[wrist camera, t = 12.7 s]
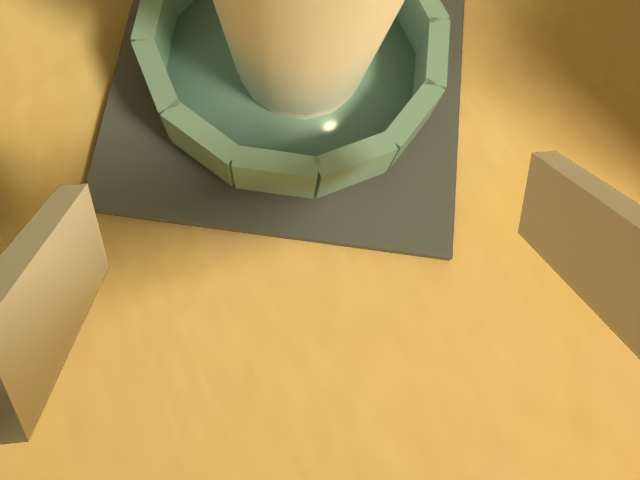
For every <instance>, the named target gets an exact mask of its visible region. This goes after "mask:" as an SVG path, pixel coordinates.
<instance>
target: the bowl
mask: <svg viewBox="0 0 640 480" xmlns="http://www.w3.org/2000/svg"><path fill="white" fill-rule="evenodd" d="M448 19H449V15H448V13H447V11H446V10H445V8H444V6H443V4H442V2H441V1H440V0H405V1H404V3H403V5H402V6H401V8H400V10H399V12H398V14H397V16H396V17H395V19H394V21H393V23H392V25H391V27H390V29H389V30H388V32H387V34H386V36H385V38H384V40H383V41H382V43H381V45H380V47H379V49H378V51H377V52H376V54H375V56H374V58H373V60H372V62H371V63H370V65H369V67H368V69H367V71H366V73H365V74H364V76H363V78H362V80H361V82H360V84H359V85H358V87H357V89H356V91H354V93H353V96H352V97H351V98H350V99H348V100H347V101H346V102H345V103H344V104H343V105H341V106H340V107H339V108H338V109H337V110H336V111H334V112H333V113H330V114H326V115H323V116H319V117H315V118H312V119H308V120H303V119H297V118H290V117H283V116H278V115H276V114H274V113H273V112H271V111H270V110H268V109H266V108H265V107H263V106H262V105H260V104H258V103H257V102H255V101H254V100H253V98H252V97H251V95H250V94H249V92H248V90H247V89H246V87H245V86H244V84H243V83H242V81H241V80H240V75H239V74H238V72H237V69H236V66H235V64H234V61H233V58H232V55H231V52H230V49H229V46H228V43H227V40H226V38H225V35H224V32H223V29H222V26H221V23H220V20H219V17H218V14H217V12H216V9H215V6H214V3H213V0H140V4H139V7H138V11H137V15H136V19H135V23H134V27H133V31H132V35H131V41H132V42H131V44H132V47H133V49H134V52H135V54H136V57H137V60H138V62H139V65H140V67H141V70H142V72H143V75H144V77H145V80H146V83H147V85H148V88H149V90H150V93H151V95H152V98H153V100H154V103H155V106H156V108H157V111H158V113H159V115H160V118H161V120H162V123H163V125H164V127H165V130H166V132H167V134H168V137H169V139H171V141H172V142H173V143H174V144H175V145H177V146H178V147H179V148H181V149H182V150H183V151H185V152H186V153H187V154H189V155H190V156H191V157H193V158H194V159H195V160H197V161H198V162H199V163H201V164H202V165H204V166H205V167H206V168H208V169H209V170H210V171H212V172H213V173H214V174H216V175H217V176H218V177H220V178H221V179H222V180H224V181H225V182H226V183H228V184H229V185H230V186H233V185H234V184H235V188H238V189H245V190H252V191H259V192H265V193H270V194H275V195H287V196H295V197H302V198H310V199H313V197H314V195H315V196H316V198H320V197H322V196H325V195H328V194H330V193H333V192H335V191H338V190H341V189H343V188H346V187H349V186H351V185H354V184H357V183H359V182H362V181H364V180H367V179H370V178H372V177H375V176H378V175H380V174H383V173H386V171H387V170H389V169H390V168H391V167H392V165H393V164H394V163H395V162H396V160H397V159H398V158H399V156H400V155H401V154H402V152H403V151H404V150H405V149H406V147H407V146H408V145H409V143H410V142H411V141H412V140H413V138H414V137H415V136H416V134H417V133H418V132H419V130H420V129H421V128H422V127H423V125H424V124H425V123H426V121H427V120H428V119H429V117H430V116H431V114H432V112H433V111H434V109H435V107H436V105H437V104H438V102H439V100H440V99H441V97H442V95H443V93H444V92H445V89H446V87H447V71H448V53H449V34H450V20H448Z"/></svg>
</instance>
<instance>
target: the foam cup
mask: <svg viewBox="0 0 640 480" xmlns="http://www.w3.org/2000/svg"><path fill="white" fill-rule="evenodd" d="M404 1H405V0H213V3H214V6H215V9H216V12H217V14H218V17H219V20H220V23H221V26H222V29H223V32H224V35H225V38H226V40H227V43H228V46H229V49H230V52H231V55H232V58H233V61H234V64H235V66H236V69H237V72H238V74H239V75H240V80H241V81H242V83H243V84H244V86H245V87H246V89H247V90H248V92H249V94H250V95H251V97H252V98H253V100H254V101H255V102H257V103H258V104H260V105H262V106H263V107H265V108H266V109H268V110H270V111H271V112H273V113H274V114H276V115H278V116H283V117H290V118H297V119H303V120H308V119H312V118H315V117H319V116H323V115H326V114H330V113H333V112H334V111H336V110H337V109H338V108H339V107H340V106H341V105H343V104H344V103H345V102H346V101H347V100H348V99H350V98H351V97H352V96H353V93H354V91H356V89H357V87H358V85H359V84H360V82H361V80H362V78H363V76H364V74H365V73H366V71H367V69H368V67H369V65H370V63H371V62H372V60H373V58H374V56H375V54H376V52H377V51H378V49H379V47H380V45H381V43H382V41H383V40H384V38H385V36H386V34H387V32H388V30H389V29H390V27H391V25H392V23H393V21H394V19H395V17H396V16H397V14H398V12H399V10H400V8H401V6H402V5H403V3H404Z"/></svg>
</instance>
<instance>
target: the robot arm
mask: <svg viewBox="0 0 640 480" xmlns="http://www.w3.org/2000/svg"><path fill="white" fill-rule="evenodd" d="M518 233H519V234H520V235H521V236H522V237H523V238H524V239H525V240H526V242H527V243H528V244H529V245H530V246H531V247H532V248H533V249H534V250H535V251H536V252H537V253H538V254H539V255H540V256H541V257H542V258H543V259H544V260H545V261H546V262H547V263H548V264H549V265H550V266H551V268H552V269H553V270H554V271H555V272H556V273H557V274H558V275H559V276H560V277H561V278H562V279H563V280H564V281H565V282H566V283H567V284H568V285H569V286H570V287H571V288H572V289H573V290H574V291H575V292H576V293H577V295H578V296H579V297H580V298H581V299H582V300H583V301H584V302H585V303H586V304H587V305H588V306H589V307H590V308H591V309H592V310H593V311H594V312H595V313H596V314H597V315H598V316H599V317H600V318H601V319H602V321H603V322H604V323H605V324H606V325H607V326H608V327H609V328H610V329H611V330H612V331H613V332H614V333H615V334H616V335H617V336H618V337H619V338H620V339H621V340H622V341H623V342H624V343H625V344H626V345H627V347H628V348H629V349H630V350H631V351H632V352H633V353H634V354H635V355H636V356H637V357H638V358H639V359H640V205H639V204H638V203H636V202H635V201H633V200H631V199H630V198H628V197H627V196H625V195H624V194H622V193H621V192H619V191H617V190H616V189H614V188H613V187H611V186H610V185H608V184H607V183H605V182H603V181H602V180H600V179H599V178H597V177H596V176H594V175H592V174H591V173H589V172H588V171H586V170H585V169H583V168H582V167H580V166H578V165H577V164H575V163H574V162H572V161H571V160H569V159H567V158H566V157H564V156H563V155H561V154H560V153H558V152H557V151H549V152H535V153H532V155H531V161H530V166H529V172H528V178H527V183H526V189H525V195H524V201H523V206H522V212H521V218H520V224H519V229H518ZM108 268H109V263H108V259H107V256H106V252H105V248H104V244H103V240H102V237H101V233H100V229H99V225H98V221H97V218H96V214H95V210H94V206H93V203H92V199H91V195H90V191H89V187H88V184H87V183H86V184H72V185H59V186H58V188H57V189H56V190H55V191H54V192H53V194H52V195H51V196H50V197H49V198H48V199H47V201H46V202H45V203H44V204H43V205H42V207H41V208H40V209H39V210H38V211H37V213H36V214H35V215H34V216H33V217H32V218H31V220H30V221H29V222H28V223H27V224H26V226H25V227H24V228H23V229H22V230H21V231H20V233H19V234H18V235H17V236H16V237H15V239H14V240H13V241H12V242H11V243H10V245H9V246H8V247H7V248H6V249H5V250H4V252H3V253H2V254H1V255H0V445H1V444H10V443H19V442H28V441H29V439H30V437H31V435H32V433H33V431H34V428H35V426H36V424H37V422H38V420H39V418H40V415H41V413H42V411H43V409H44V407H45V405H46V402H47V400H48V398H49V396H50V394H51V392H52V389H53V387H54V385H55V383H56V381H57V379H58V377H59V374H60V372H61V370H62V368H63V366H64V364H65V361H66V359H67V357H68V355H69V353H70V351H71V348H72V346H73V344H74V342H75V340H76V338H77V335H78V333H79V331H80V329H81V327H82V325H83V322H84V320H85V318H86V316H87V314H88V312H89V309H90V307H91V305H92V303H93V301H94V299H95V296H96V294H97V292H98V290H99V288H100V286H101V283H102V281H103V279H104V277H105V275H106V273H107V270H108Z"/></svg>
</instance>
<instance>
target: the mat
mask: <svg viewBox="0 0 640 480" xmlns="http://www.w3.org/2000/svg"><path fill="white" fill-rule="evenodd" d="M440 1H441V2H442V4H443V6H444V8H445V10H446V11H447V13H448V15H449V19H448V20H450V34H449V53H448V71H447V87H446V89H445V92H444V93H443V95H442V97H441V99H440V100H439V102H438V104H437V105H436V107H435V109H434V111H433V112H432V114H431V116H430V117H429V119H428V120H427V121H426V123H425V124H424V125H423V127H422V128H421V129H420V130H419V132H418V133H417V134H416V136H415V137H414V138H413V140H412V141H411V142H410V143H409V145H408V146H407V147H406V149H405V150H404V151H403V152H402V154H401V155H400V156H399V158H398V159H397V160H396V162H395V163H394V164H393V165H392V167H391V168H390V169H389V170H387V171H386V173H383V174H380V175H378V176H375V177H372V178H370V179H367V180H364V181H362V182H359V183H357V184H354V185H351V186H349V187H346V188H343V189H341V190H338V191H335V192H333V193H330V194H328V195H325V196H322V197H320V198H316V196H315V195H314V197H313V199H310V198H302V197H295V196H287V195H275V194H270V193H265V192H259V191H252V190H245V189H238V188H235V184H234V185H233V186H230V185H229V184H228V183H226V182H225V181H224V180H222V179H221V178H220V177H218V176H217V175H216V174H214V173H213V172H212V171H210V170H209V169H208V168H206V167H205V166H204V165H202V164H201V163H199V162H198V161H197V160H195V159H194V158H193V157H191V156H190V155H189V154H187V153H186V152H185V151H183V150H182V149H181V148H179V147H178V146H177V145H175V144H174V143H173V142H172V141H171V139H169V137H168V134H167V132H166V130H165V127H164V125H163V123H162V120H161V118H160V115H159V113H158V111H157V108H156V106H155V103H154V100H153V98H152V95H151V93H150V90H149V88H148V85H147V83H146V80H145V77H144V75H143V72H142V70H141V67H140V65H139V62H138V60H137V57H136V54H135V52H134V49H133V47H132V44H131V42H132V41H131V35H132V31H133V27H134V23H135V19H136V15H137V11H138V7H139V4H140V0H133V3H132V7H131V11H130V15H129V19H128V22H127V26H126V30H125V34H124V38H123V42H122V46H121V49H120V53H119V57H118V61H117V65H116V69H115V73H114V76H113V80H112V84H111V88H110V92H109V96H108V100H107V104H106V107H105V111H104V115H103V119H102V123H101V127H100V131H99V134H98V138H97V142H96V146H95V150H94V154H93V158H92V162H91V165H90V169H89V173H88V177H87V181H86V183H87V184H88V187H89V191H90V195H91V199H92V203H93V206H94V210H95V213H101V214H109V215H116V216H124V217H131V218H138V219H146V220H153V221H161V222H168V223H175V224H183V225H190V226H198V227H205V228H212V229H220V230H227V231H235V232H242V233H249V234H257V235H264V236H272V237H279V238H286V239H294V240H301V241H309V242H316V243H324V244H331V245H338V246H346V247H353V248H361V249H368V250H375V251H383V252H390V253H398V254H405V255H412V256H420V257H427V258H435V259H442V260H450V259H452V256H453V234H454V213H455V191H456V170H457V149H458V127H459V106H460V84H461V63H462V41H463V20H464V0H440Z"/></svg>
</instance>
